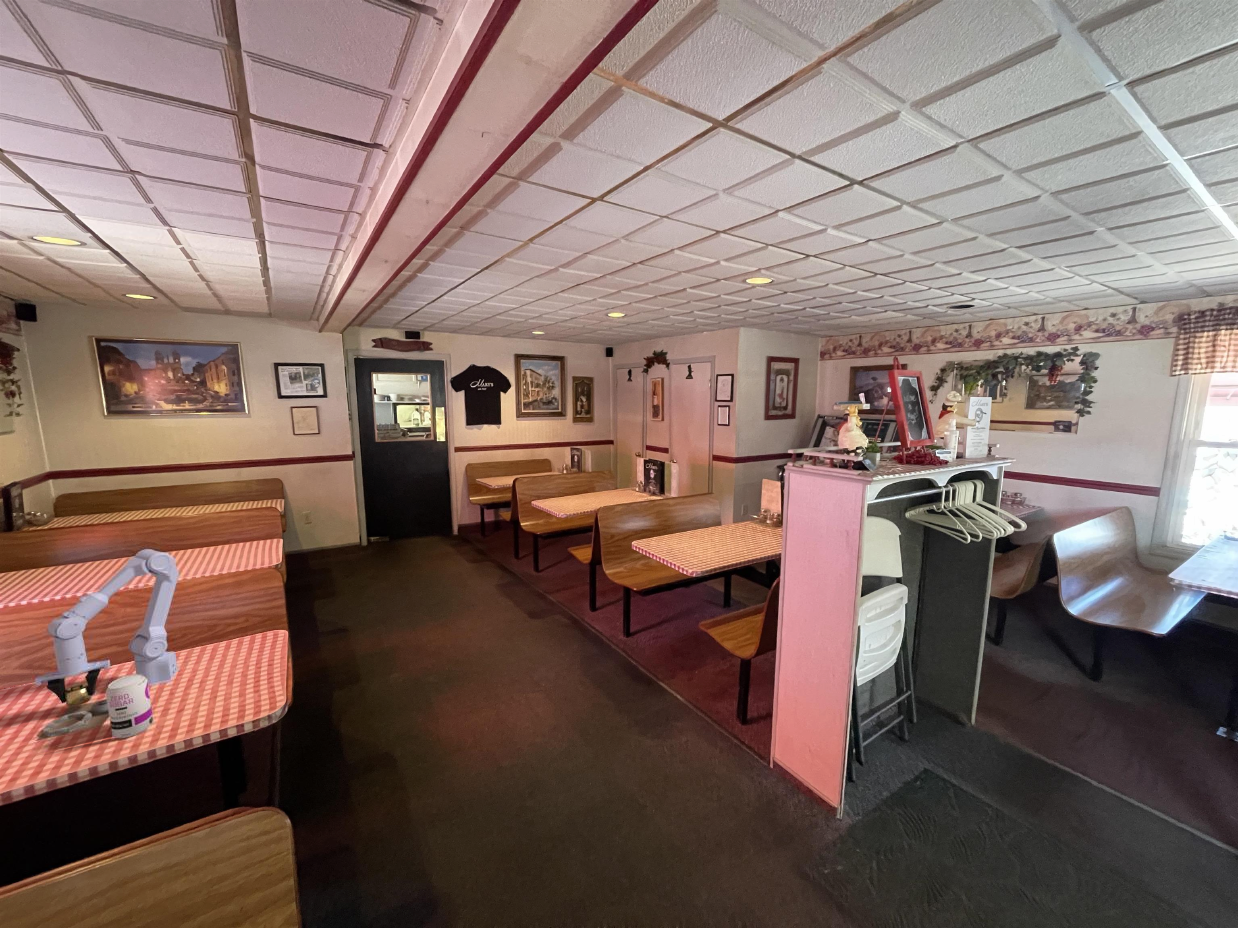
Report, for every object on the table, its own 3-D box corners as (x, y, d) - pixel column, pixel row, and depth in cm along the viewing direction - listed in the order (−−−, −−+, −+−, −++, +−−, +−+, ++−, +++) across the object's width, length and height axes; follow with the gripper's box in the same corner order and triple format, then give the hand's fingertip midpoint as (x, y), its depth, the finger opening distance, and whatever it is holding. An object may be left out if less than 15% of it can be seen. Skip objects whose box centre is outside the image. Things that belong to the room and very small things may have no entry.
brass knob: (95, 694, 145) (92, 678, 144) (86, 703, 140) (83, 687, 140) (72, 698, 143) (69, 683, 142) (62, 708, 138) (59, 692, 138)
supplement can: (151, 716, 140) (144, 669, 138) (155, 728, 135) (148, 679, 133) (111, 730, 134) (103, 682, 132) (114, 744, 128) (106, 693, 126)
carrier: (127, 696, 149) (126, 686, 148) (101, 727, 135) (99, 716, 134) (69, 708, 143) (67, 697, 142) (35, 742, 129) (33, 730, 128)
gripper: (109, 642, 147) (116, 682, 149) (38, 657, 138) (46, 699, 140) (103, 651, 141) (110, 693, 143) (29, 668, 133) (38, 712, 135)
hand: (78, 697), depth 141 cm, fingers closed on brass knob, 5 cm apart
